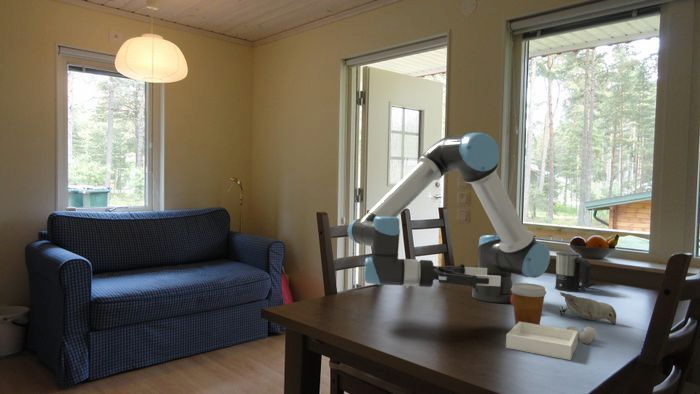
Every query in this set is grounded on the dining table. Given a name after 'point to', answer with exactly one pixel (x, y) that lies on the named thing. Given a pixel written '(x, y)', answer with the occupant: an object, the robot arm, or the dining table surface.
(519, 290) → the disposable coffee cup
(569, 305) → the decorative bird
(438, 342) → the dining table surface
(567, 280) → the milk frother
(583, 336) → the pebble
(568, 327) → the pebble
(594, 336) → the pebble
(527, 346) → the dish
